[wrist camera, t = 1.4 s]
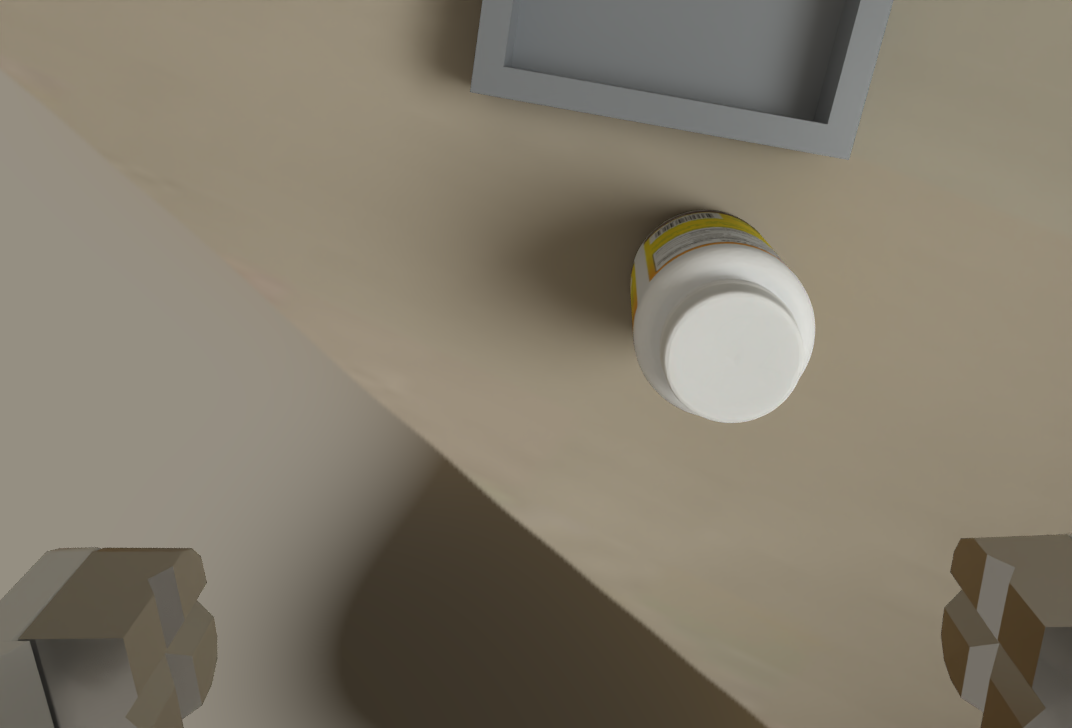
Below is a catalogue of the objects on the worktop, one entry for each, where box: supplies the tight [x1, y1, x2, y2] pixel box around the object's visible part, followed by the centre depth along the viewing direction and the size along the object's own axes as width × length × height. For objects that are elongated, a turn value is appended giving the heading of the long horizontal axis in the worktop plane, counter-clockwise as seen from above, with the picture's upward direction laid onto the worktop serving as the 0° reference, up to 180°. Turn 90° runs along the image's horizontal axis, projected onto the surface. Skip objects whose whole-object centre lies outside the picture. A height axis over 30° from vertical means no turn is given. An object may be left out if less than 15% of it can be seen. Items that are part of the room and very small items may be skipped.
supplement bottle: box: [630, 210, 815, 423], centre depth 30 cm, size 6×6×10 cm
